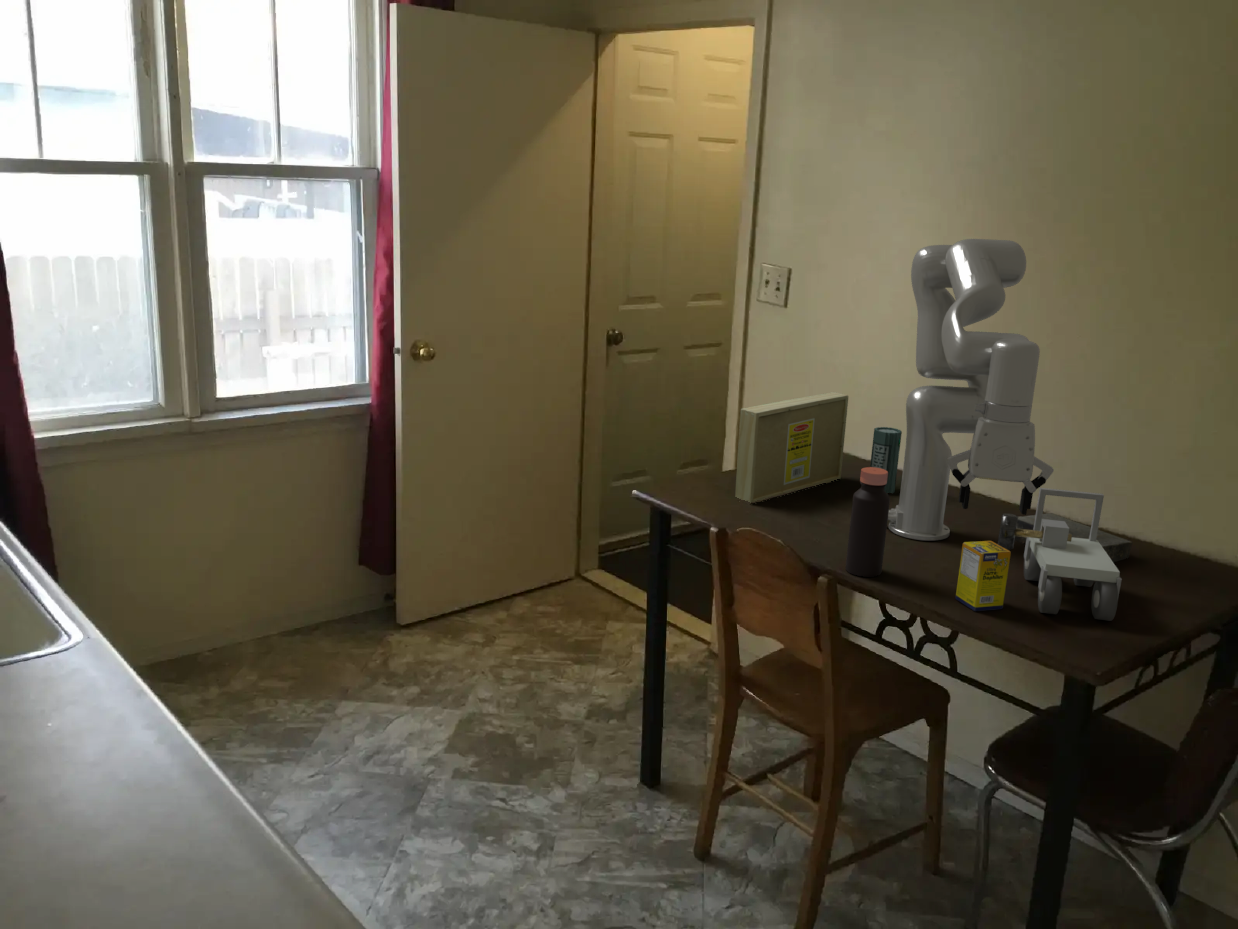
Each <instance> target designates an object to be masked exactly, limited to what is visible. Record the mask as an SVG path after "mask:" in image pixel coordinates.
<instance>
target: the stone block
mask: <svg viewBox="0 0 1238 929" xmlns="http://www.w3.org/2000/svg"><path fill="white" fill-rule="evenodd" d="M1035 516H1036V514H1034V515H1023V516H1018V521H1017V527H1016V528H1017V529H1027V530H1033V528H1034V522H1035ZM1042 519H1047V520H1057V521H1065V522H1066V524H1067V526H1068V527H1069V533H1068V534H1071V535H1072V537H1073V538H1083V539H1089V536H1090V530H1091V526H1089V525H1086V524H1083V523H1081V522H1078V521H1075V520H1073V519H1070V518H1067V517H1064V516H1061V515H1058V514H1055V513H1053V512H1048V513H1047V512H1046V513H1043V515H1042ZM1040 528H1041V527H1040ZM1026 539H1027V537H1020V536H1015V540H1014V542H1017V543H1019V544H1022V545H1026ZM1096 540H1098V542H1099V543H1100V544H1101V546H1102V547H1103V549H1104V550H1105V552H1106V553H1107V554H1108V556H1109V557H1110V559H1111V560H1112V562H1113V563H1116V562H1119V561H1123V560H1126V558H1127V559H1129V558H1130V554H1131V553H1130V552H1131V549H1132V547H1133V541H1131V540H1129V539H1126V538H1122V537H1119V536H1117V535H1116V534H1115V535H1114V534H1111V533H1109V532H1106V531H1103V530H1100V529H1098V532H1097V537H1096Z"/></svg>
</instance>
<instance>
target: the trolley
mask: <svg viewBox="0 0 1238 929" xmlns="http://www.w3.org/2000/svg"><path fill="white" fill-rule="evenodd" d="M1046 496H1053V497H1063V498H1075V499H1084V500H1095V502H1094V509H1093V513H1092V519H1091V526H1090V527H1091V530H1090V536H1089V539H1083V538H1073V537H1072V539H1071V542H1068V541H1067V539H1068V533H1069V527H1068V526H1067V524H1066V522H1065V521H1057V520H1047V519H1042V515H1043V514H1044V508H1045V500H1046ZM1104 497H1105V495H1104V494H1103V493H1099V492H1098V493H1097V492H1086V491H1077V490H1069V489H1068V490H1067V489H1057V488H1056V489H1055V488H1048V487H1047V488H1045V487H1039V492H1038V498H1037V503H1036V509H1035V510H1036V511H1035V515H1036V516H1035V522H1034V528H1033V530H1036V531H1044V533H1043V539H1040V538H1030V537H1027V539H1026V545H1025V544H1024V545H1025V547H1024V553H1023V577H1024V579H1025V580H1026V581H1033V582H1038V586H1037V588H1038V590H1037V591H1038V592H1037V606H1038V611H1039V612H1040V613H1041V614H1047V615H1048V614H1050V615H1057V614H1058V613H1059V610H1060V608H1061V603H1062V596H1063V582H1062V581H1063V580H1062V578H1069V579H1073V583H1074V585H1075V586H1077V587H1089V588H1091V587H1092V586H1093V589H1092V593H1091V614H1092V616H1093V618H1094V620H1101V621H1109V622H1110V621H1111V622H1112V621H1113V620H1114V618H1115V616H1116V613H1117V608H1118V602H1119V596H1120V595H1119V594H1120V590H1121V587H1122V586H1121V585H1122V580H1123V579H1122V577H1121V575H1120V573H1121V572H1120V570H1119V568H1118V567H1117V565H1115V562H1112V560H1111V559H1110V557H1109V556H1108V554H1107V553H1106V552H1105V550H1104V549H1103V547H1102V546H1101V544H1100V543H1099V542H1098V540H1096V537H1097V532H1098V530H1099V524H1100V520H1101V514H1102V507H1103V504H1104ZM1040 527H1041V528H1040Z"/></svg>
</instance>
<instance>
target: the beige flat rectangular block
mask: <svg viewBox="0 0 1238 929" xmlns="http://www.w3.org/2000/svg"><path fill="white" fill-rule="evenodd" d="M848 404H849V395H848V394H845V393H840V392H835V391H831V392H826V393H821V394H814V395H809V396H802V397H797V398H792V399H785V400H781V401H775V402H774V401H773V402H770V403H766V404H759V405H754V406H749V407H744V408H741V409H740V416H739V429H738V430H739V431H738V445H737V446H738V447H737V462H736V463H737V464H736V475H735V476H736V478H735V479H736V480H735V493H734V494H735V497H737V498H739V499H741V500H745V501H748V502H750V503H751V502H755V501H757V500H763V499H765V498H768V497H771V496H777V495H780V494H783V493H789V492H791V491H794V490H800V489H803V488H806V487H810V486H815V487H817V486H816V485H819V484H822V483H826V484H829V483H832V482H831V481H833V482H835V481H834V480H836V481H838V480H837V479H840V480H841V478H842V476H841V475H842V466H843V457H844V447H845V446H844V444H845V437H846V428H847V419H848V418H847V416H848V406H849V405H848ZM822 485H823V484H822ZM819 486H820V485H819Z"/></svg>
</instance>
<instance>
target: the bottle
mask: <svg viewBox="0 0 1238 929" xmlns="http://www.w3.org/2000/svg"><path fill="white" fill-rule="evenodd" d="M859 476H860V477H859V478H860V479H859V484H860V485H861V486H860V487H859V489H858V490H856V491H855V492H853V496H852V505H851V514H850V522H849V523H850V524H849V531H848V532H849V533H848V542H847V552H846V559H845V570H846V571H847V572H848V573H849V574H850V575H854V576H856V575H857V577H861V576H863V577H862V578H874V576H875V577H878V576H880V575H881V573H882V571H883V570H882V569H883V564H884V563H883V561H884V554H885V545H886V537H887V528H888V522H889V520H888V513H889V510H890V503H891V498H890V496H889V494H887V493H886V492H885V491H884V488H885V486H886V484H887V478H888V471H886V470H884V469H881V468H875V467H870V466H868V467H863V468H861V469H860V475H859ZM877 575H878V576H877Z"/></svg>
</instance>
